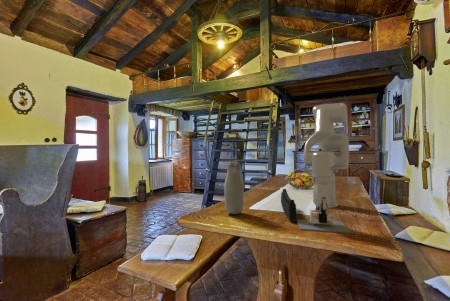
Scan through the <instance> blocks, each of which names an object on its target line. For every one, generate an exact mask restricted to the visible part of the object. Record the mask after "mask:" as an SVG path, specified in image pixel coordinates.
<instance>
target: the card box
mask: <svg viewBox="0 0 450 301" xmlns="http://www.w3.org/2000/svg"><path fill="white" fill-rule="evenodd" d="M319 213H320V211H319V210H318V209H310V211H309V216H310V217H309V220H310V221H311V223H318V224H331V225H333V221H334V212H332V210H327V223H319Z"/></svg>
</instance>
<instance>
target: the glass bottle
mask: <svg viewBox="0 0 450 301" xmlns="http://www.w3.org/2000/svg"><path fill="white" fill-rule="evenodd" d="M243 178H244V177H243V174H242V164H241V162H239V161H234V160H232V161H229V162H228V163H227V171H226V177H225V180H224V186H223V187H224V188H223V189H224V208H225V210H226V212H227V213H228V214H230V215H238V214H240V213H242V212H243V209H244V205H245V202H244V201H245V199H244V197H245V196H244V194H245V182H244V179H243Z"/></svg>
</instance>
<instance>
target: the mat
mask: <svg viewBox="0 0 450 301" xmlns="http://www.w3.org/2000/svg"><path fill="white" fill-rule="evenodd" d="M296 223H297V226H298V229H299V230H300V231H305V232H306V231H309V232H326V233H327V232H329V233H345V234H346V233H347V234H348V233H349V234H351V230H350V229H349V228H348V227H347V226H346V225H345V224H344V222H342V221H341V220H333V225H331V224H318V223H311V221H310V219H297V221H296Z"/></svg>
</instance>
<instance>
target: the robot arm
mask: <svg viewBox="0 0 450 301" xmlns="http://www.w3.org/2000/svg"><path fill="white" fill-rule="evenodd" d="M312 115H313V118H314V133H313V134H312V135H311V136H310V137H308V139H307V140H306V141H305V144H304V146H303V157H302V158H303V160H302V161H303V164H304V165H305V166H306V167H310V168H311V174H312V175H311V183H312V184H313V191H312V192H313V194H312V197H313V198H312V202H313V204H314V205H315V208H316V209H315V210H319V211H320V213H319V223H327V211H328V210H327V209H328V208H329V209H330V208H331V209H333V208H334V209H335V208H338V207H339V203H337V202H336V175H335V173H334V172H333V171H332V170H331V169H338V170H340V169H341V170H345V169H347V168H348V167H349V164H350V154H349V153H350V141H349V140H350V139H349V137H348V135H347V134H346V133H335V125H334V124H337V123H344V122H345V121H346V120H347V117H348V109H347V105H346V103H343V102H339V103H338V102H337V103H323V104H318V105H314V106H313V107H312ZM316 144H318V148H319V149H320V150H311V148H313V146H315V145H316ZM333 151H335V152H333ZM336 151H339V152H336Z"/></svg>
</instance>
